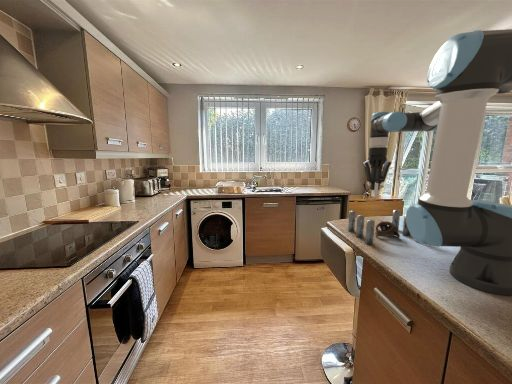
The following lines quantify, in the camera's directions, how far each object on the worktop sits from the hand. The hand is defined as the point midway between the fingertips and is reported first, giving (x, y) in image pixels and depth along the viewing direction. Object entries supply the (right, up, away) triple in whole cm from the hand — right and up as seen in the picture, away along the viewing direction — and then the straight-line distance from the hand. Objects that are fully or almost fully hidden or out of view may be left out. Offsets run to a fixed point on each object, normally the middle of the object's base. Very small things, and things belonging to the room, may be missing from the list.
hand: (374, 196), depth 107 cm
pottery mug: (+2, -18, -7) cm, 20 cm away
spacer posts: (+1, -18, -6) cm, 19 cm away
